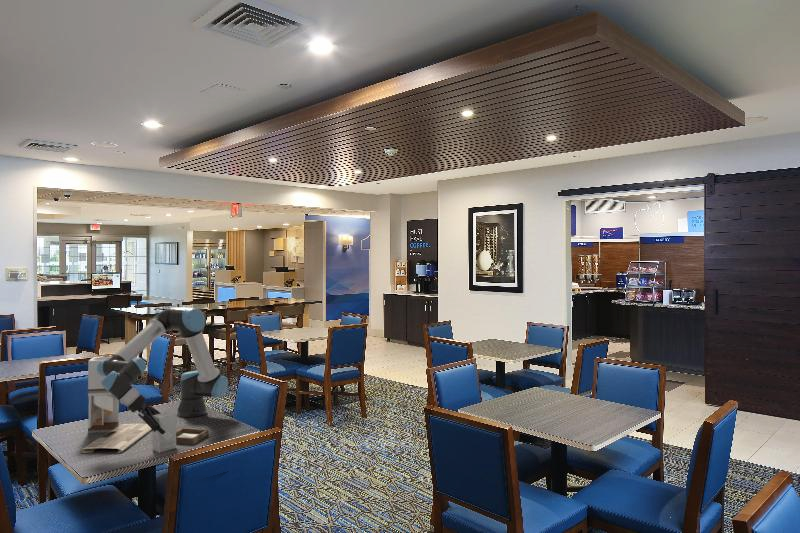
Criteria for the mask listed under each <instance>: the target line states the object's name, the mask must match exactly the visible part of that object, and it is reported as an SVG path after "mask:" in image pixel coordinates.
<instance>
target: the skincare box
mask: <svg viewBox="0 0 800 533" xmlns="http://www.w3.org/2000/svg"><path fill="white" fill-rule="evenodd" d="M152 416H153V417H154V418H155V420H156V421H157V422H158V423H159V425H160V426H161V425H162V426H163V427H164V428H165V429H166V430H167V431H168V432H170V433H171V434H172V437H171V438H170V439H169V440H167V439H165V438H164V437H163V436H162V435H161V434H160V433H159V432H157V431H155V432H154V431H153V430H152V451H155V452H157V453H159V454H160V453H162V452H167V451H170V450H173V449H177V443H176V431H177V413H175V412H173V411H172V412H171V411H165V412H162V413H161V412H160V414H156V415H152Z"/></svg>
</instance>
